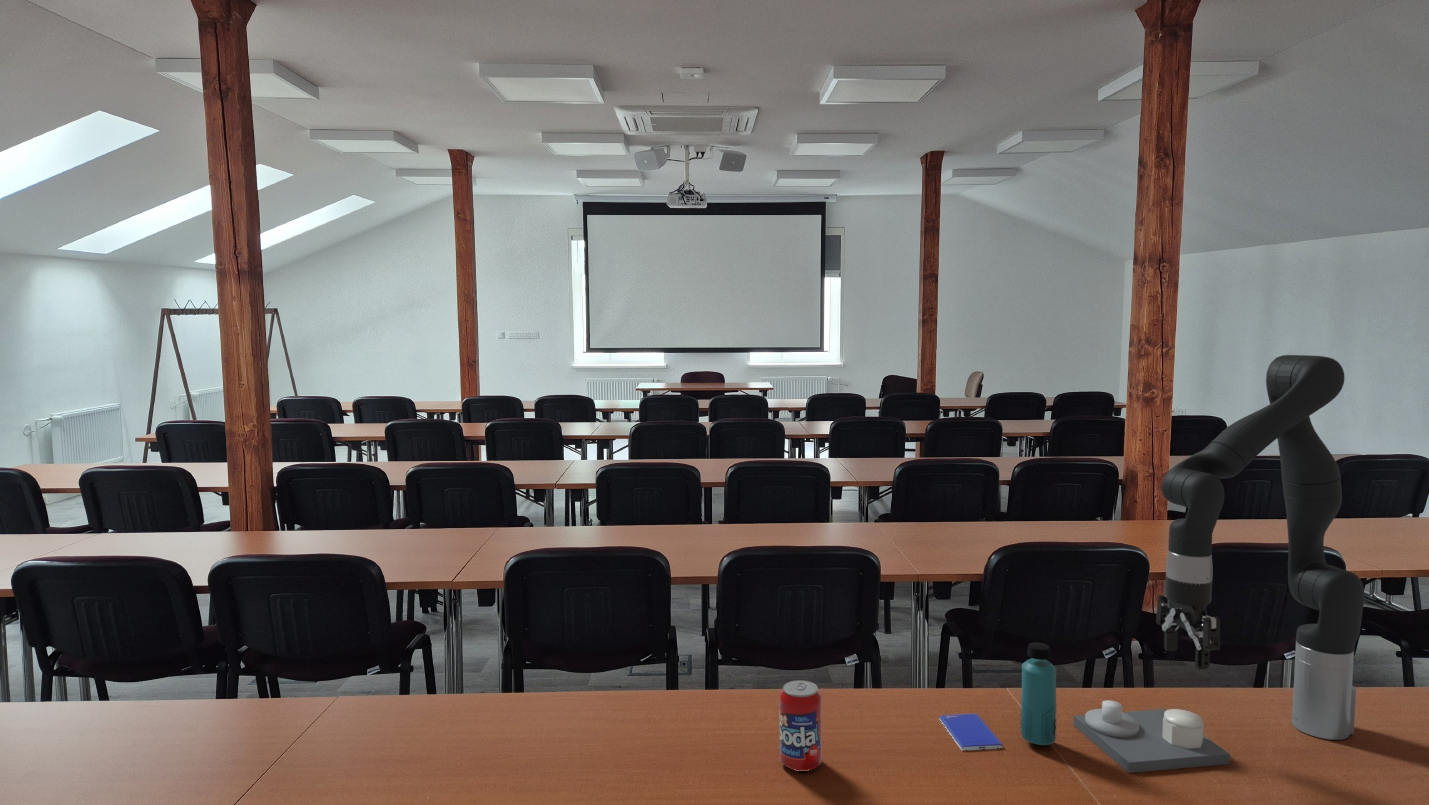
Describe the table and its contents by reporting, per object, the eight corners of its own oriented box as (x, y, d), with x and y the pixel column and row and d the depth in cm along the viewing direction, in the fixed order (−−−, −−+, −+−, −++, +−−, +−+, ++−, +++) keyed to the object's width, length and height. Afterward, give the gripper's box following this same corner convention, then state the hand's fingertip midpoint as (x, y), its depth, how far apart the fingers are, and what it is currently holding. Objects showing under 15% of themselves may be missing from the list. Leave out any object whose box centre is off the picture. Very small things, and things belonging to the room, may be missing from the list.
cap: (1186, 730, 160) (1187, 708, 160) (1210, 746, 154) (1211, 723, 154) (1155, 732, 160) (1156, 710, 159) (1178, 749, 153) (1179, 726, 153)
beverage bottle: (1059, 754, 156) (1061, 652, 154) (1022, 751, 157) (1024, 650, 155) (1052, 737, 162) (1054, 639, 160) (1016, 734, 164) (1018, 637, 162)
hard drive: (939, 715, 170) (961, 746, 158) (977, 713, 171) (1003, 743, 158) (939, 722, 170) (961, 753, 158) (977, 720, 171) (1002, 751, 159)
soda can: (825, 757, 156) (825, 681, 155) (817, 778, 149) (816, 699, 148) (785, 750, 159) (785, 676, 158) (775, 771, 152) (774, 693, 150)
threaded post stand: (1164, 718, 169) (1165, 688, 169) (1229, 764, 152) (1230, 730, 151) (1073, 725, 167) (1074, 695, 166) (1128, 773, 149) (1129, 739, 149)
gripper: (1235, 586, 147) (1231, 673, 149) (1181, 563, 161) (1178, 643, 163) (1197, 588, 146) (1193, 676, 148) (1145, 565, 160) (1143, 646, 162)
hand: (1185, 659), depth 155 cm, fingers open, 8 cm apart
